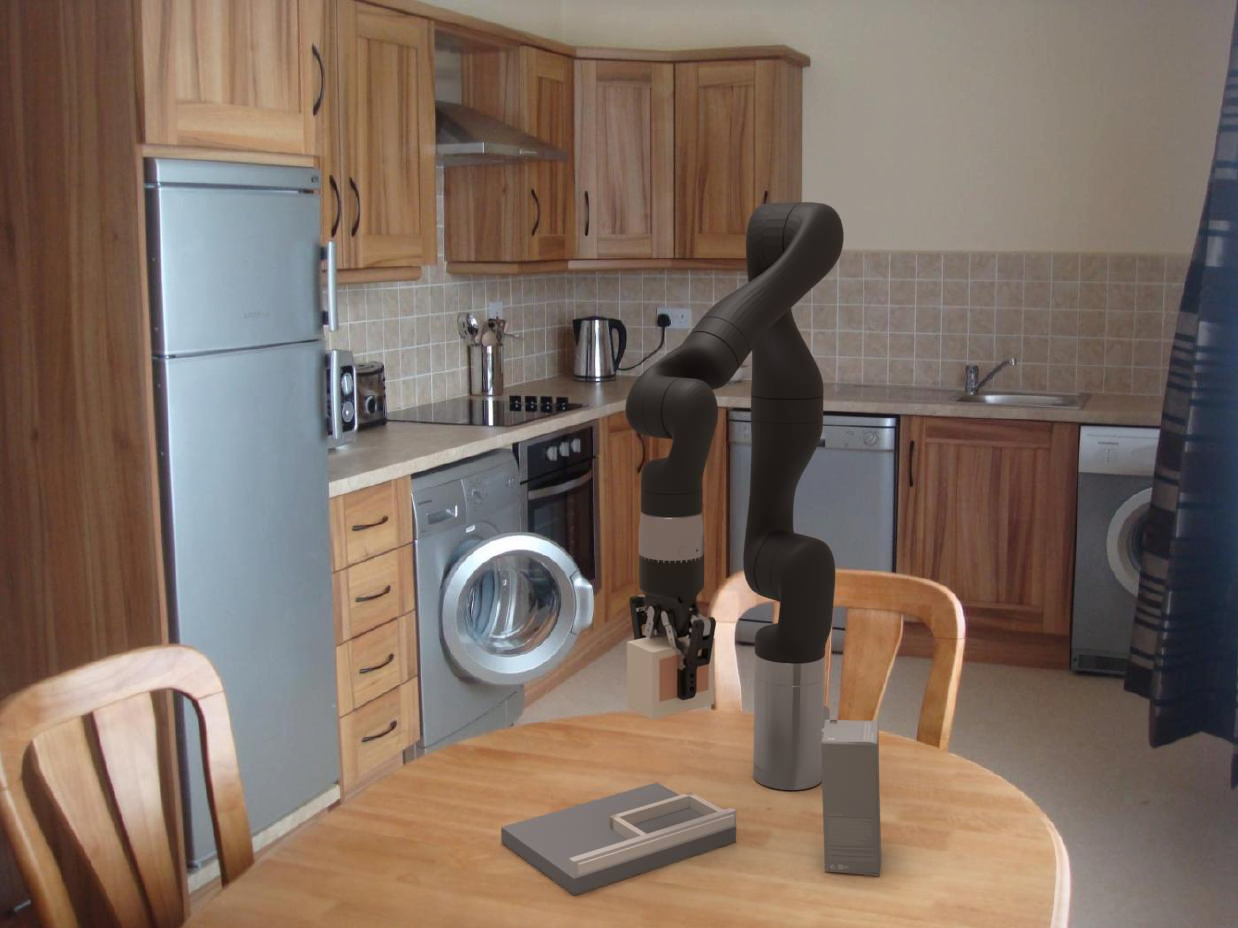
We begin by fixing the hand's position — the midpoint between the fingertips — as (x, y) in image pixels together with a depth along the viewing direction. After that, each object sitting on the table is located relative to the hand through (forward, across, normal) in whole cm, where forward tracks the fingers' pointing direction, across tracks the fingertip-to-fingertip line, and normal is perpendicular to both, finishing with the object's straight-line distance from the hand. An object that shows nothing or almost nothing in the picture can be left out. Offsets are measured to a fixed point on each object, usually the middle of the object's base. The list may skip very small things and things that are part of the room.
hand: (671, 690), depth 159 cm
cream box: (+2, 0, 0) cm, 2 cm away
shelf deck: (+19, +4, +5) cm, 20 cm away
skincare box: (+19, -15, -14) cm, 29 cm away
